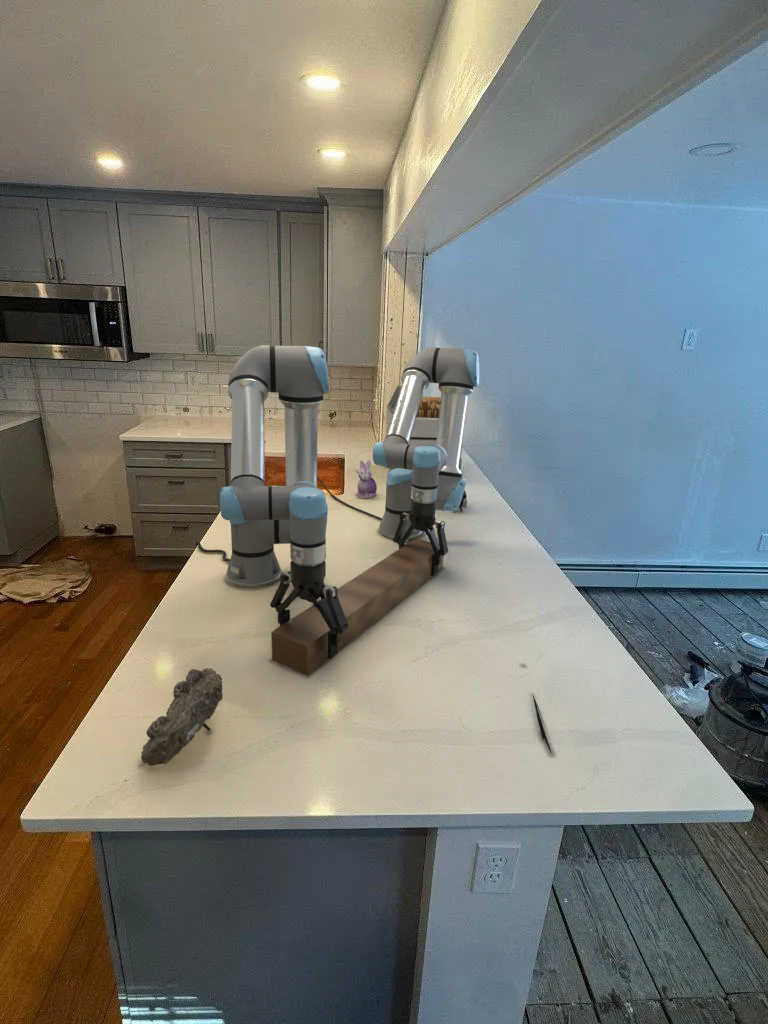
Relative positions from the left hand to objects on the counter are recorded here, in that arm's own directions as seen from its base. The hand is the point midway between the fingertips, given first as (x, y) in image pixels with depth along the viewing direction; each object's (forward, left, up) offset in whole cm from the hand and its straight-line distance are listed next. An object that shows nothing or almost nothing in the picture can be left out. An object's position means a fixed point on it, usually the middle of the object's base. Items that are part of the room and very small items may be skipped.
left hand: (308, 646), depth 128 cm
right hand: (-27, +46, -2) cm, 53 cm away
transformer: (-119, +104, -2) cm, 159 cm away
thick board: (-14, +23, -2) cm, 27 cm away
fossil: (+13, -28, -2) cm, 31 cm away
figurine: (-98, +65, -2) cm, 117 cm away
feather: (+36, +35, -2) cm, 50 cm away
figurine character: (-71, +92, -2) cm, 116 cm away
